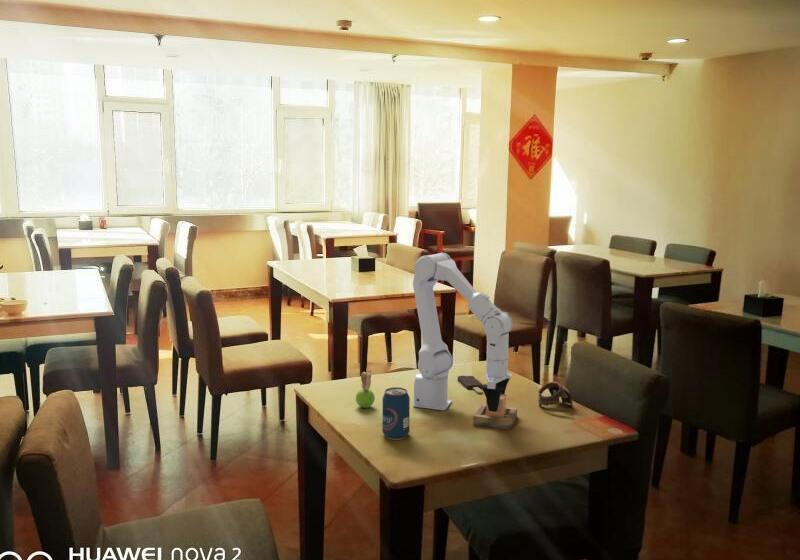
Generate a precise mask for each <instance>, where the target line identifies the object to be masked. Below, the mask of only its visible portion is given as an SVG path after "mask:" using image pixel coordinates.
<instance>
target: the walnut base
mask: <svg viewBox="0 0 800 560" xmlns="http://www.w3.org/2000/svg"><path fill="white" fill-rule="evenodd" d="M517 417H518V408H517V407H512V406H506V416H505V417H504V418H502V417H494V416H486V404H485V403H481V404H480V405H479V407H478V409H477V410H476V411H475V413H474V414H473V421H472V423H473V424H472V425H473V426H481V427H486V428H487V427H488V428H495V429H502V430H509V431H510V430H512V427H513V426H514V423H515V422H516V420H517Z"/></svg>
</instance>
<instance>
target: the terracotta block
mask: <svg viewBox="0 0 800 560" xmlns="http://www.w3.org/2000/svg"><path fill="white" fill-rule="evenodd" d="M485 399H486V398H485ZM485 403H486V416H494V417H502V418H504V417H505V416H506V407H507V394H506V393H505V394H501V396H500V399H499V405H498V409H497V412H493V411H489V409H488V404H487V399H486V402H485Z"/></svg>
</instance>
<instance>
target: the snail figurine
mask: <svg viewBox="0 0 800 560" xmlns="http://www.w3.org/2000/svg"><path fill="white" fill-rule="evenodd" d="M371 373H372V369H370V370H367V371H362V373H361V374H360V380H361V381H360V382H361V385H360V386H361V389H360V390H359V391H358V392H357V393H356V395H355V402H356V404H357V405H358V406H359V407H360V408H365V409H367V408H370V407H371V406H373V404H374V402H375V398H376V397H375V393H374V392H373V391H372V390H370V387H371V383H372V379H371V378H372V374H371Z"/></svg>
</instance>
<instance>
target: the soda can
mask: <svg viewBox="0 0 800 560" xmlns="http://www.w3.org/2000/svg"><path fill="white" fill-rule="evenodd" d="M410 400H411V399H410V395H409V393H408V390H407V389H406V388H403V387H398V386H397V387H389V388H386V389H385V390H384V393H383V395H382V425H381V426H382V429H381V430H382V433H383V435H384V437H386V439H388V440H390V441H391V440H392V441H399V440H403V439H406V438H407V436H408V435H409V433H410V413H411V412H410V408H411V407H410V403H411V402H410Z"/></svg>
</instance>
